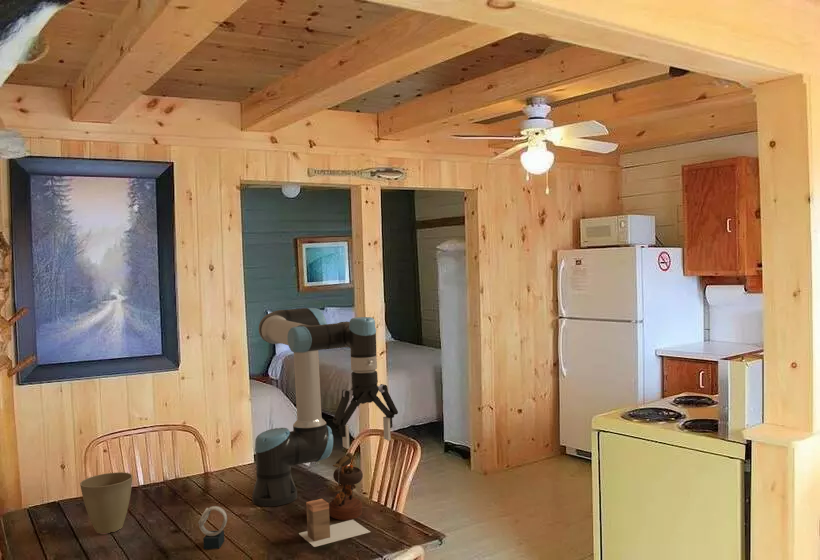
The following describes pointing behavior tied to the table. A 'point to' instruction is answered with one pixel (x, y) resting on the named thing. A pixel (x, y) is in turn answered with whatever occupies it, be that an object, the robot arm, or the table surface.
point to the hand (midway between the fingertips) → (367, 443)
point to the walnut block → (318, 519)
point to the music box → (346, 490)
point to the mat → (338, 532)
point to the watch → (212, 537)
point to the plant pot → (107, 500)
